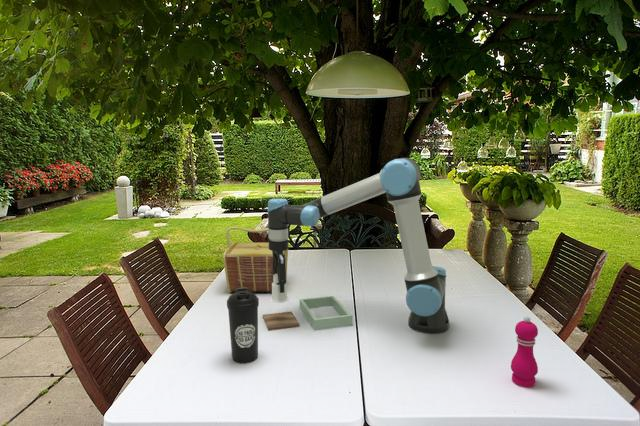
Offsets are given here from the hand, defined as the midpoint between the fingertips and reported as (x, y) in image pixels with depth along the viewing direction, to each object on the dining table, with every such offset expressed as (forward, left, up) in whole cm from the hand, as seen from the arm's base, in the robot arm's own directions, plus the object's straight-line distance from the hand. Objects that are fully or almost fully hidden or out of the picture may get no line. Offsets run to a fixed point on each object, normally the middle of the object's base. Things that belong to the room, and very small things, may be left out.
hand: (279, 296), depth 181 cm
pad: (0, 0, -10) cm, 10 cm away
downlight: (0, 0, -1) cm, 1 cm away
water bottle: (-26, +17, -11) cm, 33 cm away
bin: (0, -18, -10) cm, 21 cm away
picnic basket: (+45, +2, -11) cm, 46 cm away
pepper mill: (-66, -59, -11) cm, 89 cm away
